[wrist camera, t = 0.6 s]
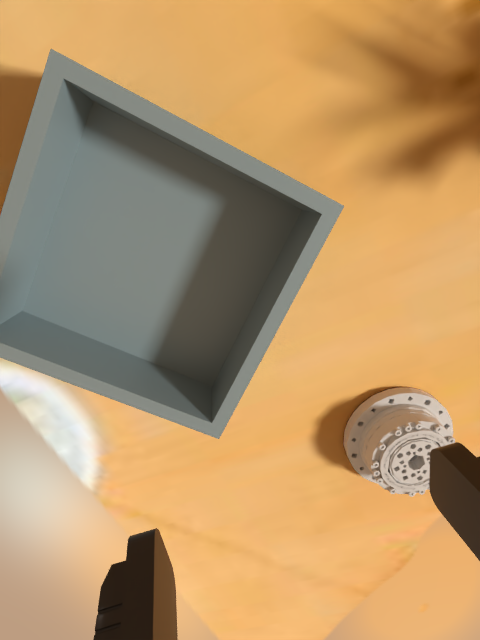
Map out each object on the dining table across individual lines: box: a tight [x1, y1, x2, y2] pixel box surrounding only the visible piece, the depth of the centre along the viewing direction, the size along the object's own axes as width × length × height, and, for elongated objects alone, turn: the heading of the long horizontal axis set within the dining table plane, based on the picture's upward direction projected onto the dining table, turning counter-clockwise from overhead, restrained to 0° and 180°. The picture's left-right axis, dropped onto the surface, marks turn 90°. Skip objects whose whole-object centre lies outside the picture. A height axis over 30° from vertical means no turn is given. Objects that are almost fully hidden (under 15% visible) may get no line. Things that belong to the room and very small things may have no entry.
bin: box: [0, 49, 344, 439], centre depth 27 cm, size 18×18×6 cm
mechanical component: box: [343, 387, 455, 497], centre depth 35 cm, size 10×4×10 cm
